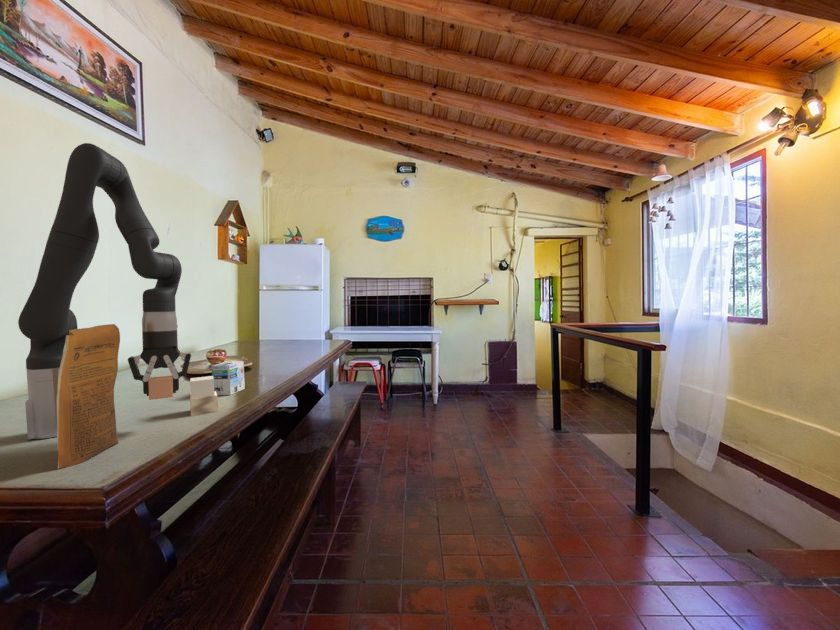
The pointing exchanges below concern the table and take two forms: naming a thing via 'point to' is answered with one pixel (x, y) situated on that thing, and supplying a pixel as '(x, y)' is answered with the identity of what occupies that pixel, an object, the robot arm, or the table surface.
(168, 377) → the terracotta block
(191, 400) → the tower base block
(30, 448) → the table surface
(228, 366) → the light bulb box
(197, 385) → the tower top block
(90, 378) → the pancake mix bag
